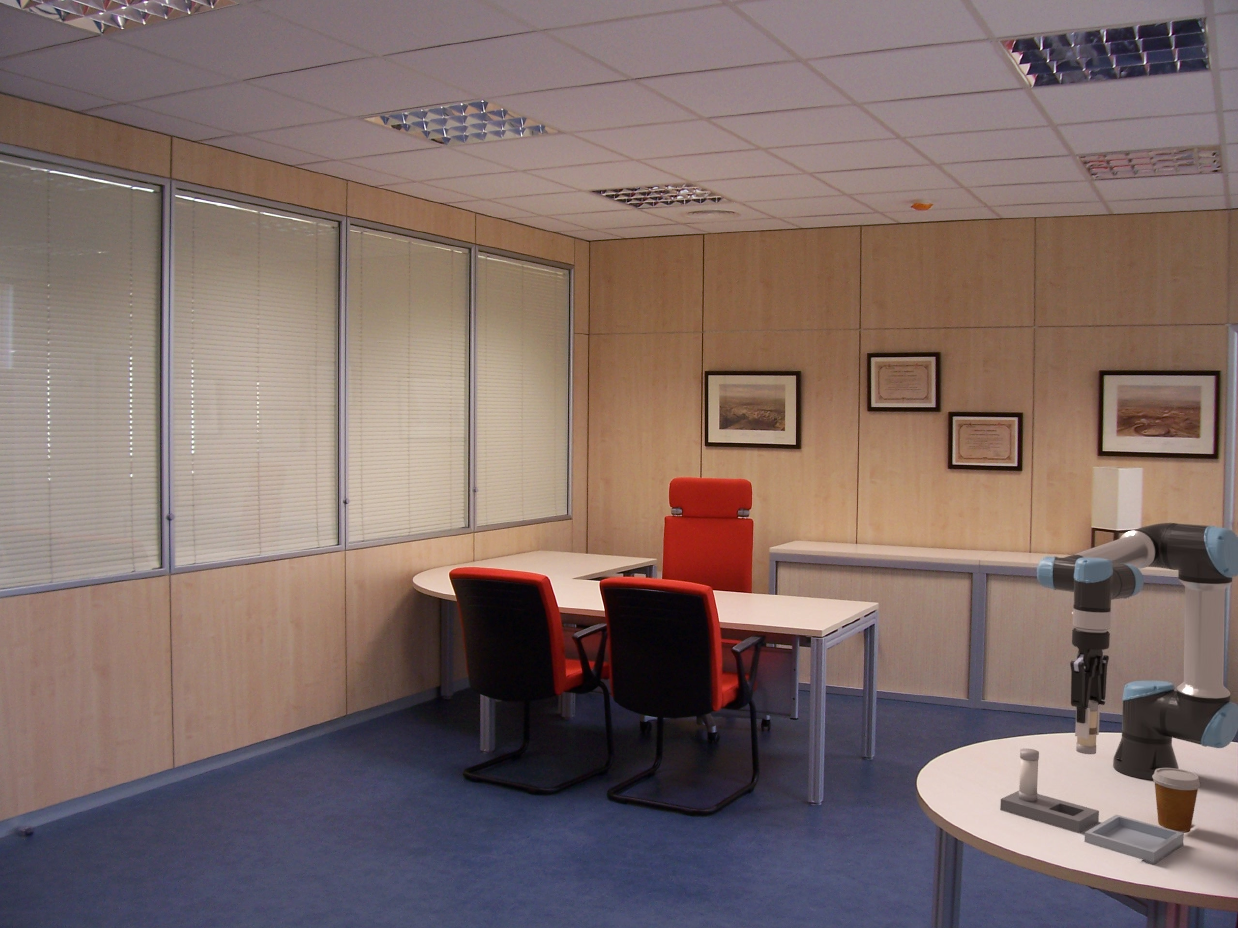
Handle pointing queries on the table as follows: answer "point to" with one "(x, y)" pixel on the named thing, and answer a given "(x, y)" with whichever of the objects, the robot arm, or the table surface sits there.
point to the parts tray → (1135, 838)
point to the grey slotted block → (1045, 800)
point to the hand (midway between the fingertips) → (1086, 734)
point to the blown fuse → (1089, 744)
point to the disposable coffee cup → (1175, 797)
